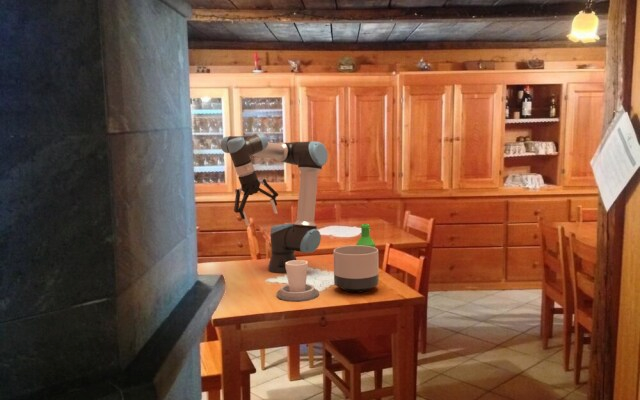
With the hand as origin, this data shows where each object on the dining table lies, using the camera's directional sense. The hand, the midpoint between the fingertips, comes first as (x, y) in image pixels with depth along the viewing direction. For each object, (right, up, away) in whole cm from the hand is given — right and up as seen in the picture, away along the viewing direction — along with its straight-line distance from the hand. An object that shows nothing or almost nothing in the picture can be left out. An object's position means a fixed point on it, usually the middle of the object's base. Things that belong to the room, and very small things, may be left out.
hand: (262, 219), depth 233 cm
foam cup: (+16, -31, -6) cm, 35 cm away
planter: (+41, -31, 0) cm, 51 cm away
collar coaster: (+16, -32, -5) cm, 36 cm away
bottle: (+47, -28, +22) cm, 59 cm away
